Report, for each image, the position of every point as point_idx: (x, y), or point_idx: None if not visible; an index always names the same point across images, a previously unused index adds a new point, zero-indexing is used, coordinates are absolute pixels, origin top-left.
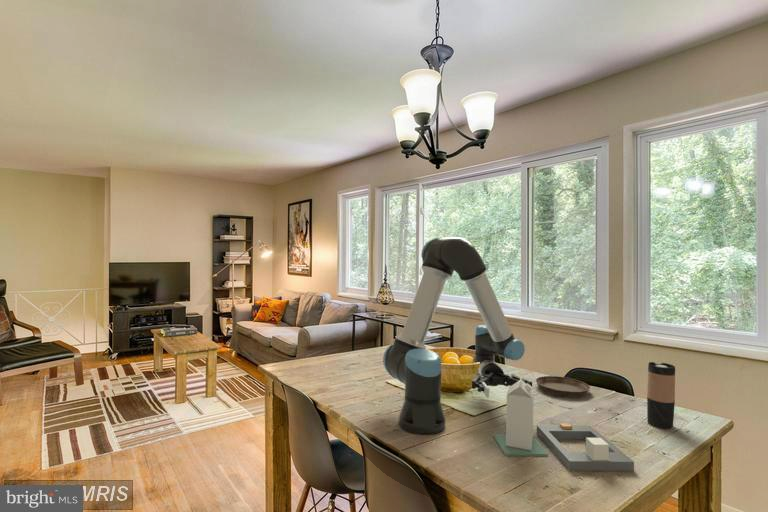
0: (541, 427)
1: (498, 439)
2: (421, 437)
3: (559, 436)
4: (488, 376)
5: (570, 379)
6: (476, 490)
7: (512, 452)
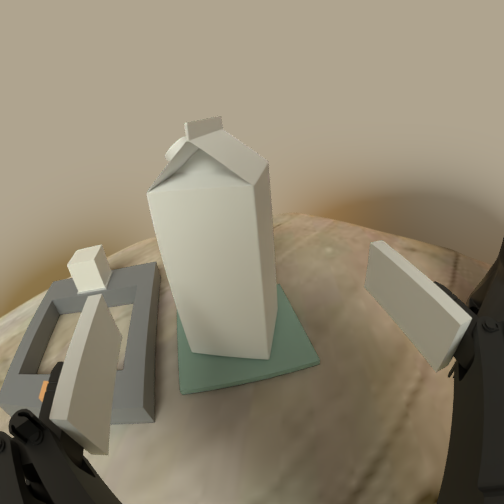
0: (134, 390)
1: (299, 335)
2: (469, 292)
3: None
4: (496, 493)
5: None
6: (316, 220)
7: None
